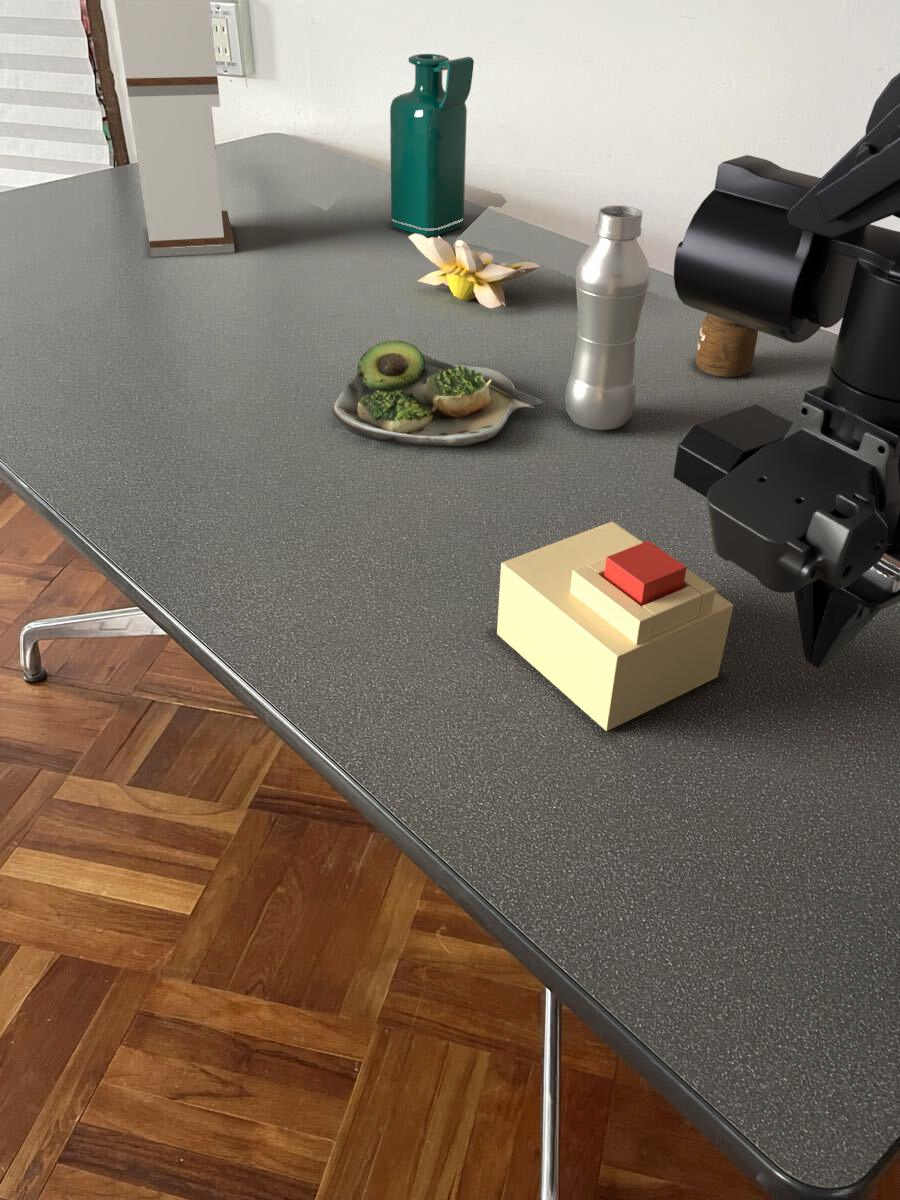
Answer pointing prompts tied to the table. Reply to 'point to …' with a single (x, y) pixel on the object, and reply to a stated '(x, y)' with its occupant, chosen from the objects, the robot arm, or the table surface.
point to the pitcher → (430, 146)
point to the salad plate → (425, 399)
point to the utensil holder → (725, 347)
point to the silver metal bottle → (608, 321)
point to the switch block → (609, 628)
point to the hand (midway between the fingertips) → (817, 662)
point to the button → (645, 573)
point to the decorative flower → (468, 270)
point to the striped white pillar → (175, 122)
